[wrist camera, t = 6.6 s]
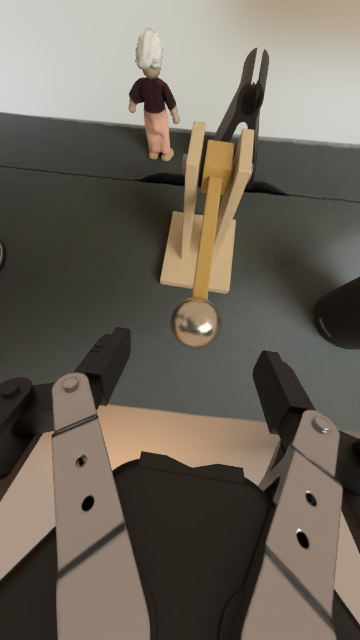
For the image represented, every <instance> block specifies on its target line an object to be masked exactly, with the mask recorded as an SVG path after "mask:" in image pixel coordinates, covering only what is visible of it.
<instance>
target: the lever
mask: <svg viewBox="0 0 360 640" xmlns="http://www.w3.org/2000/svg"><path fill="white" fill-rule="evenodd" d="M233 151H234V143H228V142H221V141H214V140H208V145H207V151H206V158H205V164H204V171H203V178H202V185H201V192H203V193H207V194H206V201H205V208H204V214H203V221H202V228H201V235H200V242H199V249H198V256H197V263H196V270H195V276H194V283H193V290H192V297H191V298H190V299H187V300H184V301H183V302H181V303H180V304H179V305H178V306H177V307H176V308H175V309H174V311H173V313H172V316H171V322H170V325H171V330H172V333H173V335H174V337H175V338H176V340H177V341H178V342H179V343H181V344H182V345H184V346H186V347H188V348H194V349H199V348H204V347H206V346H208V345H210V344H212V343H213V342H214V341H215V340H216V339H217V337H218V335H219V333H220V331H221V326H222V321H221V316H220V313H219V311H218V309H217V308H216V307H215V306H214V305H213V304H212V303H211V302H209V301H208V300H207V297H208V289H209V281H210V273H211V265H212V257H213V249H214V241H215V233H216V225H217V217H218V209H219V201H220V195H224V194H225V190H226V187H227V183H228V180H229V176H230V173H231V169H232V160H233Z"/></svg>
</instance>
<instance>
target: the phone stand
mask: <svg viewBox="0 0 360 640" xmlns="http://www.w3.org/2000/svg"><path fill="white" fill-rule="evenodd" d="M256 52H257V48H255V49H253V51H251V52H250V53H249V55H248V56H247V58H246V61H245V63H244V67H243V72H242V78H241V83H240V85H239V88H238V90H237V92H236V94H235V96H234V98H233V100H232V102H231V104H230V106H229V108H228V110H227V112H226V114H225V116H224V118H223V120H222V122H221V124H220V126H219V128H218V130H217V132H216V134H215V136H214V138H213V140H214V141H221V142H228V143H229V142H230V140H231V137H232V135H233V133H234V131H235V129H236V127H237V125H238V124H239V123H241V122H245V123H246V124H247V126H248V129H251V130H254V142H253V154H252V163H253V172H252V175H251V178H250V181H249V183H247V184H246V186H245V188H246V189H252V188H253V182H254V175H255V168H256V162H257V147H258V131H259V115H260V107H261V105H262V103H263V98H264V92H265V85H266V79H267V72H268V66H269V56H268V53H267V51H266V50H264V52H263V55H262V62H261V68H260V73H259V79H258V81H257V83H256V85H255V83H254V82H253V84H252V85H251V81H252V75H253V69H254V64H255V58H256ZM233 160H234V157H233ZM233 160H232V163H233ZM204 164H205V162H204ZM203 171H204V167H203ZM203 171H202V175H201V180H202V178H203Z"/></svg>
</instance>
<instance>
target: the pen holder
mask: <svg viewBox="0 0 360 640" xmlns="http://www.w3.org/2000/svg"><path fill="white" fill-rule="evenodd" d="M315 319H316V323H317V326H318V328H319V330H320V332H321V333H322V335H323V336H324V337H325V338H326V339H327V340H328V341H330V342H331V343H332V344H334V345H336V346H338V347H341V348H344V349H360V277H358V278H356V279H355V280H353V281H351V282H349V283H347V284H345V285H343V286H341V287H339V288H337V289H335V290H333V291H332V292H330V293H328V294H326V295H325V296H324V297H322V298H321V299H320V301H319V302H318V304H317V307H316V312H315Z"/></svg>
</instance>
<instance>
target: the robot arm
mask: <svg viewBox="0 0 360 640" xmlns="http://www.w3.org/2000/svg"><path fill="white" fill-rule="evenodd" d="M5 257H6V252H5V247H4V245H3V243H2V242H1V241H0V270H1V269H2V267H3V265H4V262H5ZM130 351H131V339H130V329H126V328H120V327H116V329H115V330H114V331H113V333H112V334H111V335H109V334H106V335H104V336H103V337H101V338H100V339H98V341H97V342H96V343H95V345H94V346H93V347H92V349H91V350H90V352H89V353H88V354H87V355H86V357H85V358H84V359H83V361H82V362H81V363H80V365H79V366H78V367H77V368H76V370H75V371H74V372H73V373H69V374H66V375H64V376H62V377H61V378H59V379H58V380H57V381H56V382H55V383H49V384H40V385H32V383H31V381H30V380H29V379H27V378H13V379H10V380H7V381H5V382H3V383H1V384H0V501H1V500H2V498H3V496H4V495H5V493H6V492H7V490H8V488H9V487H10V485H11V484H12V482H13V480H14V479H15V477H16V476H17V474H18V472H19V471H20V469H21V468H22V466H23V464H24V463H25V461H26V460H27V458H28V457H29V455H30V453H31V452H32V450H33V449H34V447H35V445H36V444H37V442H38V440H39V439H40V437H41V436H42V434H43V433H45V432H50V431H54V434H52V460H53V481H54V499H55V518H56V526H55V527H54V528H53V529H52V530H51V531H50V532H49V533H48V534H47V535H46V536H45V537H44V538H43V539H42V540H41V541H40V542H39V543H38V544H37V545H36V546H35V547H34V548H33V549H32V550H31V551H29V553H27V554H26V555H25V557H24V558H22V559H21V560H20V561H19V562H18V563H17V564H16V565H15V566H14V567H13V568H12V569H11V570H10V571H9V572H8V573H7V574H6V575H5V576H4V577H3V578H2V579H1V580H0V640H360V624H359V623H358V622H357V620H356V619H355V617H354V616H353V615H352V613H351V612H350V610H349V609H348V608H347V606H346V605H345V603H344V602H343V600H342V599H341V598H340V596H339V595H338V593H337V592H336V591H335V589H334V581H335V570H336V560H337V548H338V538H339V527H340V515H341V510H342V512H343V515H344V517H345V520H346V522H347V524H348V527H349V529H350V532H351V534H352V536H353V539H354V541H355V543H356V546H357V548H358V551H359V553H360V438H359V439H358V438H355V437H353V436H351V435H348V434H346V433H344V432H342V431H339V430H338V429H337V427H336V426H335V424H334V423H333V422H332V421H331V420H330V419H329V418H328V417H326V416H325V415H324V414H322V413H320V412H318V411H316V410H315V408H314V406H313V405H312V403H311V401H310V399H309V397H308V396H307V394H306V392H305V390H304V389H303V387H302V386H301V383H300V381H299V380H298V379H297V376H296V374H295V373H294V371H293V369H292V368H291V367H290V366H289V365H288V364H287V363H286V362H283V361H282V359H281V358H280V356H279V354H278V353H277V352H271V351H265V350H264V351H262V352H261V354H260V356H259V358H258V361H257V363H256V365H255V367H254V369H253V379H254V383H255V386H256V389H257V393H258V396H259V399H260V402H261V406H262V409H263V412H264V415H265V419H266V422H267V425H268V429H269V432H270V433H271V434H277V435H279V436H280V439H281V440H280V441H279V443H278V445H277V447H276V450H275V452H274V454H273V457H272V459H271V462H270V464H269V466H268V469H267V471H266V473H265V475H264V477H263V479H262V480H261V482H260V484H259V486H257V485H256V484H254V483H253V482H251V481H250V480H249V479H247V478H245V477H244V473H243V468H239V467H234V466H228V465H221V464H214V465H208V466H201V467H195V468H192V467H189V466H187V465H185V464H183V463H181V462H178V461H177V460H175V459H173V458H170V457H168V456H167V455H161V454H154V453H149V452H143V451H142V452H141V456H140V459H136V460H132V461H129V462H127V463H124V464H122V465H120V466H119V467H117V468H116V469H114V470H113V471H112V469H111V465H110V461H109V457H108V454H107V449H106V446H105V442H104V438H103V434H102V430H101V426H100V422H99V419H98V415H97V412H96V411H97V409H98V407H99V405H103V406H107V404H108V401H109V399H110V397H111V395H112V393H113V391H114V389H115V386H116V384H117V382H118V380H119V378H120V376H121V374H122V371H123V369H124V367H125V365H126V363H127V361H128V359H129V356H130Z"/></svg>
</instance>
